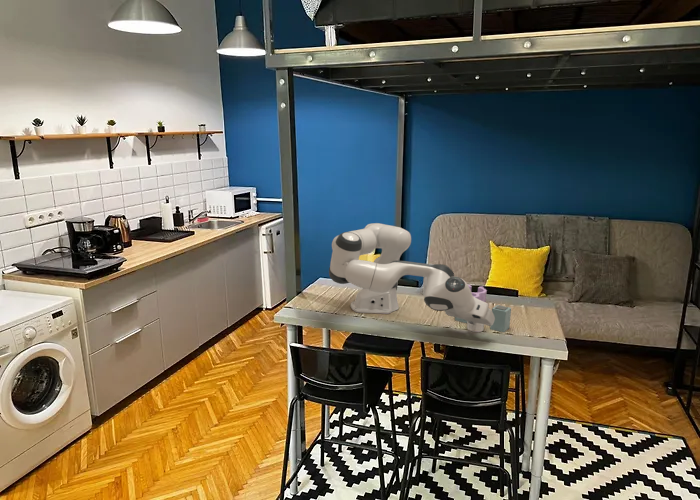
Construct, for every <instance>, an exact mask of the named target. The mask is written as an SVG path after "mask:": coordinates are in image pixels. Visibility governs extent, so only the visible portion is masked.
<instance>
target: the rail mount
mask: <svg viewBox="0 0 700 500" xmlns="http://www.w3.org/2000/svg"><path fill="white" fill-rule="evenodd" d="M491 311H492V312H493V314H494V317H495V320H494V323H493V325H492V326H489V330H492V331H497V332H501V333H505V332H507V331H508V330H509V329H510V326H511V325H510V324H511V315H512V314H511V313H512V307H509V306H505V305H499V304H497V305H495V306H494V307H492V308H491ZM454 321H457V322H460V323H465V324H467V321H466V320H464V319H460V318H456V317H454Z"/></svg>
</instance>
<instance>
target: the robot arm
mask: <svg viewBox="0 0 700 500" xmlns="http://www.w3.org/2000/svg"><path fill="white" fill-rule="evenodd" d="M411 244H412V235H411V232H410V231H408V230H406V229H404V228H402V227H400V226H395V225H389V224H384V223H379V222H375V223H368V224H367V225H365V227H364V228H361V229H357V230H356V229H355V230H351V231H350V230H349V231H344V232H342V233H340V234H338V235H336V236H335V237H334V238H333V239H332V242H331V250H332V252H331V258H330V264H329V268H328V275H329V278H330V279H331V281H333V282H335V283H336V284H341V285H347V284H352V285H354V286H356V287H359V288H361V289H360V290H359V291H358V292H357V293H356V295H355V300H353V301H351V302H350V308H351V310H352V311H353V312H355V313H359V314H360V313H362V314H363V313H364V314H387V315H388V314H391V313H393V312H395V311H397V310H399V302H398V296H397V295H398V294H397V290H398V287H399V285H398V284H399V283H398V281H399V280H400V279H401V278H402V277H404V276H415V277H423V278H424V277H426V278H427V279H428V281H427V286H426V290H425V295H423V296H424V297H423V302H424V303H425V305H426V306H427V307H428V308H430V309H432V310H433V311H437V312H443V311H444V313H445V315H447V316H449V317H452V318H455V317H456V318H460V319H464V320H466V321H467V322H468V323H469V324H473V325H476V323H480V324H484V326H488V327H490V326H492V325H493V323H494V320H495V317H494V314H493V312H492V308H489V303H488V302H483V301H481V300H479V299H477V298H475V297H473V295H472V293H471V292H472V289H471V290H470V288H469V286H468V285H469V284H468V283H467V282H466V280H464V279H463V278H461V277H460V276H456V275H455V273H454V271H453V270H452V268H450V267H449V266H448V265H446V264H443V263H442V264H441V263H440V264H439V263H437V264H436V263H435V264H433V263H423V262H414V261H408V260H407V261H406V260H400V258H401V256H402V254H403V253H404V252H405V251H407V250H408V249H409V247H410V246H411ZM375 249H381V254H380V256H378V257H376V258H375V259H374V261H370V260H369V261H368V260H363V259H360V256H364V255H368V254H371V253H372V252H373V253H374V251H375Z"/></svg>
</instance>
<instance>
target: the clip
mask: <svg viewBox="0 0 700 500" xmlns="http://www.w3.org/2000/svg"><path fill="white" fill-rule="evenodd" d="M468 286H469V288H470V290H471V293H472V295H473V297H475V298H477V299H479V300H481V301H483V302H486V301H487V291H488V290H487V289H486V288H484V286H479V287H477V292H472V285H470V284H468ZM486 303H487V302H486Z"/></svg>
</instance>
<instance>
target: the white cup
mask: <svg viewBox="0 0 700 500" xmlns="http://www.w3.org/2000/svg"><path fill="white" fill-rule="evenodd" d="M466 326H467V327H466V329H467V330H468V331H470V332H477V333H479V332H480V333H481V332H483V331H484V328H485V325H484V324H480V323H476V325H473V324H469V323H468V322H467V323H466Z"/></svg>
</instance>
